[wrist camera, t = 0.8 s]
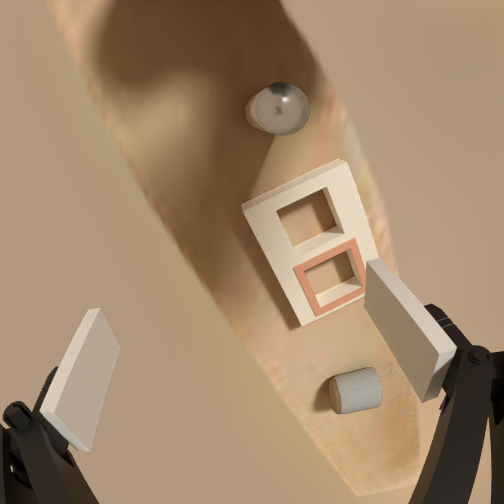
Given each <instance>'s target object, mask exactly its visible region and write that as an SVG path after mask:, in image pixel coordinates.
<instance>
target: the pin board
mask: <svg viewBox="0 0 504 504" xmlns="http://www.w3.org/2000/svg"><path fill="white" fill-rule="evenodd" d="M320 189H322V190H323V192H324V195H325V197H326V200H327V202H328V205H329V207H330V210H331V212H332V215H333V217H334V220H335V223H336V225H337V226H335V227H333V228H331V229H329V230H327V231H324V232H322V233H320V234H318V235H316V236H314V237H312V238H310V239H308V240H306V241H304V242H302V243H300V244H298V245H296V246H294V247H293V246H292V244H291V242H290V240H289V238H288V236H287V233H286V231H285V229H284V227H283V225H282V223H281V221H280V219H279V217H278V214H277V212H276V210H279V209H281V208H283V207H285V206H287V205H289V204H291V203H293V202H295V201H297V200H299V199H301V198H304V197H306V196H308V195H310V194H312V193H314V192H316V191H318V190H320ZM241 207H242V211H243V213H244V215H245V217H246V219H247V221H248V223H249V225H250V227H251V229H252V230H253V232H254V234H255V236H256V238H257V240H258V242H259V244H260V246H261V248H262V250H263V252H264V254H265V255H266V257H267V259H268V261H269V263H270V265H271V267H272V269H273V271H274V273H275V275H276V277H277V279H278V281H279V282H280V284H281V286H282V288H283V290H284V292H285V294H286V296H287V298H288V300H289V302H290V304H291V306H292V308H293V310H294V312H295V314H296V316H297V317H298V319H299V321H300V323H301V325H302V326H304V325H306V324H308V323H310V322H312V321H314V320H317V319H319V318H321V317H323V316H325V315H327V314H329V313H331V312H333V311H335V310H337V309H339V308H341V307H343V306H345V305H347V304H349V303H351V302H353V301H355V300H357V299H359V298H361V297H363V296H365V283H366V261H368V260H373V259H378V258H379V256H378V253H377V250H376V246H375V243H374V239H373V236H372V233H371V230H370V227H369V223H368V220H367V217H366V214H365V211H364V208H363V205H362V202H361V199H360V196H359V193H358V191H357V188H356V185H355V182H354V179H353V177H352V174H351V171H350V169H349V166H348V163H347V162H345V161H343V160H340V159H336V160H333V161H331V162H329V163H327V164H325V165H322V166H320V167H318V168H316V169H314V170H312V171H309V172H307V173H305V174H303V175H301V176H299V177H297V178H294V179H292V180H290V181H288V182H286V183H284V184H282V185H280V186H278V187H276V188H273V189H271V190H269V191H267V192H265V193H263V194H261V195H259V196H257V197H255V198H253V199H251V200H249V201H247V202H245V203H243V204H241ZM344 251H346V252H347V255H348V258H349V261H350V264H351V266H352V269H353V272H354V275H355V276H354V277H352V278H350V279H348V280H346V281H344V282H342V283H340V284H338V285H336V286H334V287H332V288H330V289H328V290H326V291H323V292H321V293H319V294H317V295H315V294H314V292H313V290H312V288H311V285H310V283H309V281H308V279H307V277H306V274H305V272H304V271H305V270H307V269H309V268H311V267H313V266H315V265H317V264H319V263H321V262H323V261H325V260H327V259H329V258H331V257H333V256H335V255H337V254H339V253H342V252H344Z"/></svg>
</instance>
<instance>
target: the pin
mask: <svg viewBox="0 0 504 504" xmlns="http://www.w3.org/2000/svg"><path fill="white" fill-rule="evenodd" d="M309 113H310V106H309V102H308V99H307V97H306V95H305V94H304V93H303V92H302V90H300V89H299V88H298V87H296V86H294V85H292V84H289V83H282V82H281V83H274V84H271V85H269V86H267V87H266V88H265V89H263V90H262V91H260V92H259V93H257V94H256V95H255V96H253V97H252V98H251V99H250V100H249V101H248V102H247V104H246V107H245V117H246V119H247V121H248V123H249V124H250V125H251V126H252V127H254V128H255V129H258V130H262V131H265V132H269V133H273V134H277V135H290V134H293V133H295V132H297V131H299V130H300V129H301V128H302V127H303V126H304V125H305V124H306V122H307V120H308V118H309Z"/></svg>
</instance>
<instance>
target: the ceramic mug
mask: <svg viewBox="0 0 504 504" xmlns="http://www.w3.org/2000/svg"><path fill="white" fill-rule="evenodd" d="M329 396H330V402H331V406H332V408H333V411H334V412H335V413H336V414H349V413H353V412H358V411H363V410H367V409H372V408H376V407H379V406H380V404H381V401H382V387H381V382H380V379H379V376H378V374H377V372H376V370H375V369H374V368H373V367H368V368H365V369H361V370H357V371H353V372H350V373H345V374H341V375H338V376H335V377H333V378H331V380H330V381H329Z"/></svg>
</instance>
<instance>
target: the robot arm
mask: <svg viewBox="0 0 504 504" xmlns="http://www.w3.org/2000/svg"><path fill="white" fill-rule="evenodd" d="M364 307H365V309H366V311H367V312H368V314H369V315H370V317H371V318H372V320H373V322H374V323H375V325H376V326H377V328H378V330H379V331H380V333H381V334H382V336H383V338H384V339H385V341H386V343H387V344H388V346H389V347H390V349H391V351H392V352H393V354H394V356H395V357H396V359H397V361H398V362H399V364H400V366H401V367H402V369H403V371H404V373H405V374H406V376H407V378H408V379H409V381H410V383H411V385H412V386H413V388H414V390H415V392H416V393H417V395H418V397H419V398H420V400H421V402H422V403H423V402H426V401H428V400H430V399H433V398H435V397H438V395H439V393H440V390H441V388H443V389H444V391H445V393H446V396H445V398H444V400H443V402H442V404H441V406H440V408H439V409H440V410H441V413H440V417H439V420H438V424H437V427H436V431H435V434H434V437H433V440H432V443H431V447H430V450H429V453H428V456H427V458H426V461H425V464H424V467H423V469H422V472H421V475H420V477H419V480H418V482H417V485H416V487H415V490H414V492H413V494H412V497H411V499H410V501H409V503H408V504H468V501H469V498H470V495H471V492H472V488H473V485H474V481H475V477H476V474H477V470H478V465H479V461H480V457H481V452H482V447H483V442H484V437H485V431H486V425H487V419H488V417H489V427H490V440H491V467H492V483H491V504H504V351H501V352H494V353H490V351H489V350H487V349H486V348H484V347H482V346H477V345H472V344H471V343H470V342H469V341H468V340H467V338H466V337H465V336H464V335H463V333H462V332H461V331H460V330H459V329H458V328H457V326H456V325H455V324H453V322H452V321H451V320H450V319H449V318H448V316H447V315H446V314H445V313H444V312H443V311H442V309H440V308H438V307H437V306H435V305H433V304H429V305H426V306H423V305H422V304H421V303H420V302H419V301H418V299H417V298H416V297H415V296H414V295H413V294H412V293H411V291H410V290H409V289H408V288H407V287H406V286H405V285H404V284H403V282H402V281H401V280H400V279H399V278H398V277H397V276H396V275H395V274H394V272H393V271H392V270H391V269H390V268H389V267H388V266H387V265H386V264H385V263H384V262H383V260H382V259H381V258H378V259H373V260H368V261H366V283H365V304H364ZM120 349H121V348H120V346H119V344H118V342H117V340H116V338H115V336H114V334H113V332H112V330H111V328H110V326H109V324H108V322H107V320H106V318H105V316H104V314H103V311H102V309H101V308H93V309H88V311H87V313H86V314H85V316H84V318H83V320H82V322H81V324H80V326H79V327H78V330H77V331H76V333H75V335H74V337H73V339H72V341H71V343H70V345H69V347H68V349H67V351H66V353H65V356H64V357H63V360H62V361H61V364H60V366H59V367H55V368H54V369H53V370H52V372H51V373H50V374H49V376H48V377H47V379H46V382H45V385H44V386H43V388H42V391H41V393H40V395H39V397H38V399H37V402H36V404H35V406H34V409H33V411H32V412H31V411H30V409H29V408H28V407H27V406H26V405H25V404H24V403H23V402H21V401H16V402H13V403H11V404H10V405H9V406H8V407H7V408H6V409H5V411H4V414H3V420H4V422H5V423H6V424H7V425H8V426H9V427H10V428H8V429H5V428H4V427H3V426H2V425H1V424H0V504H99V502H98V501H97V499H96V497H95V496H94V494H93V493H92V491H91V489H90V487H89V486H88V484H87V482H86V481H85V479H84V477H83V475H82V473H81V471H80V470H79V468H78V466H77V464H76V462H75V460H74V458H73V456H72V454H71V453H70V451H69V450H68V449H67V448H68V445H69V443H70V444H71V445H72V446H73V447H74V448H75V449H76V450H80V451H88V452H91V449H92V445H93V441H94V437H95V433H96V429H97V426H98V422H99V418H100V414H101V411H102V407H103V403H104V400H105V397H106V393H107V390H108V387H109V383H110V380H111V377H112V374H113V370H114V367H115V364H116V361H117V358H118V355H119V352H120ZM10 465H11V466H12V467H13V472H11V468H10Z"/></svg>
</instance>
